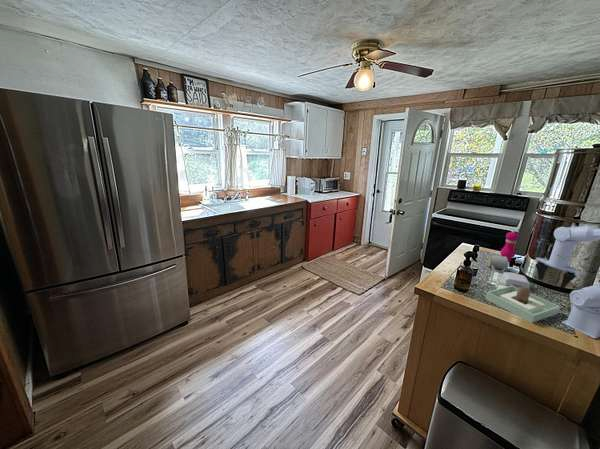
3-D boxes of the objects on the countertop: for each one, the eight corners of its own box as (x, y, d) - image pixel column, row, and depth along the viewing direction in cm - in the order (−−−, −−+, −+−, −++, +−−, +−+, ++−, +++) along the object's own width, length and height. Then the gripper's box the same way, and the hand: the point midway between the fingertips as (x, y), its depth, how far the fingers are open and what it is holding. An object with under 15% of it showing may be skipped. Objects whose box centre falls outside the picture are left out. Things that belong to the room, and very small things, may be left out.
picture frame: (557, 314, 104) (560, 306, 103) (531, 324, 98) (534, 315, 97) (510, 292, 120) (512, 285, 119) (484, 299, 114) (486, 291, 113)
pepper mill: (502, 261, 155) (510, 231, 150) (496, 257, 162) (503, 228, 156) (515, 262, 154) (524, 232, 148) (508, 258, 161) (516, 228, 155)
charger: (520, 279, 134) (528, 292, 122) (499, 274, 139) (504, 286, 126) (523, 271, 133) (530, 283, 120) (501, 267, 137) (506, 278, 125)
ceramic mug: (486, 264, 151) (489, 252, 149) (502, 266, 148) (505, 255, 146) (490, 271, 142) (493, 259, 140) (508, 274, 139) (511, 262, 137)
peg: (528, 306, 108) (532, 290, 106) (523, 309, 106) (527, 292, 104) (517, 302, 111) (521, 286, 109) (512, 304, 110) (516, 288, 108)
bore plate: (542, 310, 106) (545, 304, 105) (526, 315, 102) (528, 309, 101) (513, 296, 116) (515, 291, 115) (498, 301, 112) (499, 295, 111)
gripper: (590, 260, 99) (578, 290, 103) (545, 247, 112) (536, 274, 116) (580, 262, 97) (569, 293, 101) (535, 249, 110) (527, 276, 114)
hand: (551, 283), depth 108 cm, fingers open, 7 cm apart
